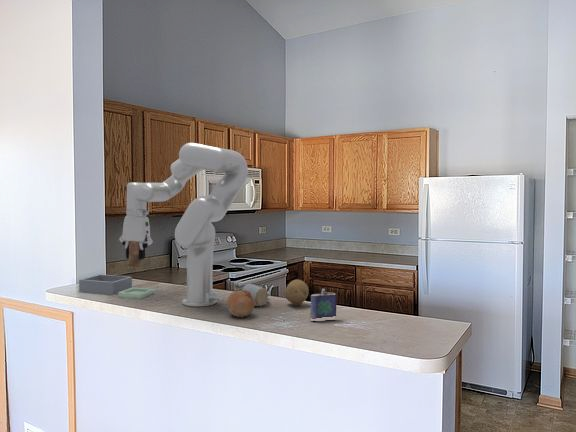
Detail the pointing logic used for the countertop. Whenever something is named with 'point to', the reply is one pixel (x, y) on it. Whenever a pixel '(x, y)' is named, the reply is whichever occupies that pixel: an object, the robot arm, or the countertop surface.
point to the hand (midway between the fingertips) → (135, 258)
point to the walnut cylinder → (134, 254)
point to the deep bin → (105, 284)
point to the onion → (240, 303)
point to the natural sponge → (296, 292)
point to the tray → (136, 293)
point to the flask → (323, 305)
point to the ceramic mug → (257, 294)
